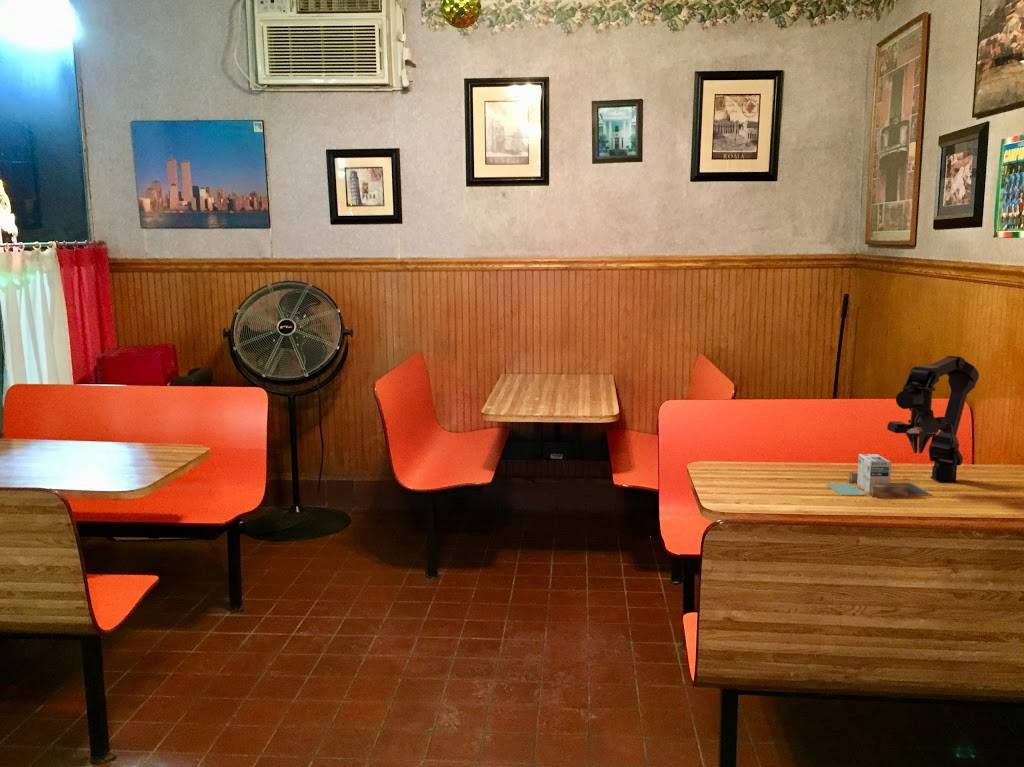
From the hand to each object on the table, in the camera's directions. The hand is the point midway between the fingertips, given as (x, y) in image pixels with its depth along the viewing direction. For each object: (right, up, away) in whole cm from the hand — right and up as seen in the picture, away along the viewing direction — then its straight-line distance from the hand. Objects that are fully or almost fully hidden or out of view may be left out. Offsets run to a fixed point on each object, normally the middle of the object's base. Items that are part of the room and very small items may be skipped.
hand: (917, 453), depth 273 cm
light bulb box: (-14, -12, +2) cm, 19 cm away
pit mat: (-2, -12, +2) cm, 12 cm away
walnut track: (-13, -12, +2) cm, 17 cm away
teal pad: (-23, -12, +1) cm, 26 cm away
